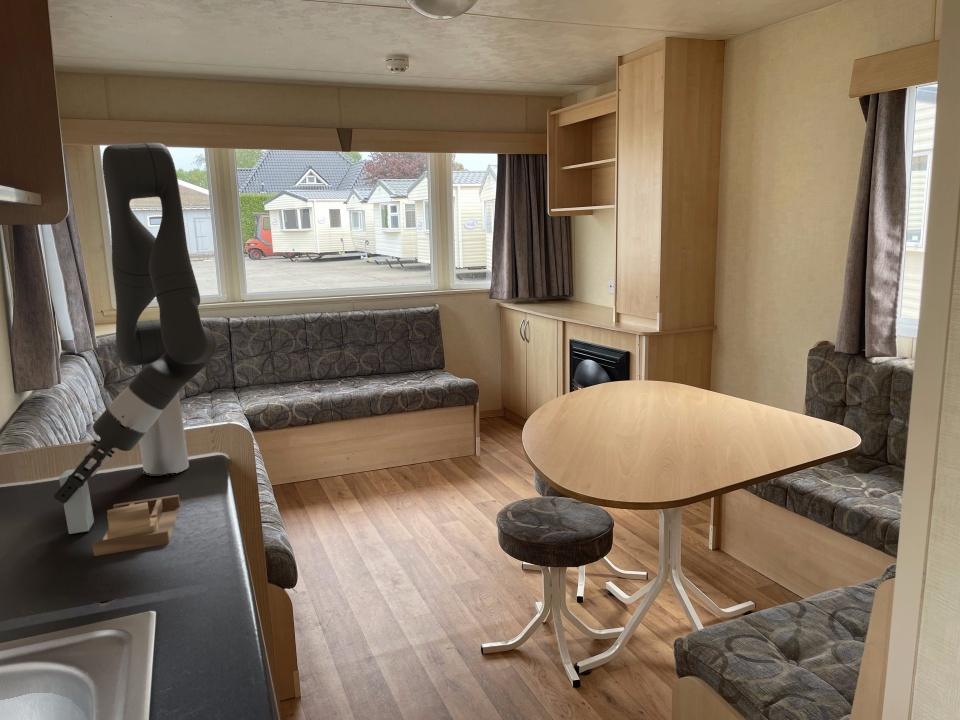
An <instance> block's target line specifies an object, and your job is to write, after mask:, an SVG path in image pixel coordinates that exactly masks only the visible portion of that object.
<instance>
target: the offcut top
mask: <svg viewBox="0 0 960 720" xmlns="http://www.w3.org/2000/svg"><path fill="white" fill-rule="evenodd" d="M106 513H107V515H106V517H107V523H108V528H109V531H110V533H113V532H117V531H122V530H127V529H131V528H136V527H140V526H145V525H150V524H151V522H150V515H149V509H148V502H145V503H140V504H135V505H130V506H126V507H121V508H116V509H113V508H112V509H108V510H106Z"/></svg>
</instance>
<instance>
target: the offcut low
mask: <svg viewBox="0 0 960 720" xmlns="http://www.w3.org/2000/svg"><path fill="white" fill-rule="evenodd" d="M150 522H151V524H150V525H145V526H140V527H136V528H131V529H127V530H122V531H117V532H113V533H110V531H109V530H108V529H107V530H108V531H106V532H107V537H108V539H112V538H118V537H125V536H131V535H137V534H143V533H149V532H155V531H159V528H158V522H157V517H156V518H150Z"/></svg>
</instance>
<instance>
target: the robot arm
mask: <svg viewBox="0 0 960 720" xmlns="http://www.w3.org/2000/svg"><path fill="white" fill-rule="evenodd" d="M101 162H102V172H103V180H104V187H105V193H106V201H107V208H108V213H109V222H110V236H111V237H110V239H111V240H110V241H111V266H112V267H111V268H112V276H113V277H112V278H113V285H114V286H113V287H114V292H115V293H114V294H115V304H116V305H115V306H116V307H115V308H116V309H115V311H116V313H115V344H116V351H117V356H118V358H119V360H120V361H121V363H122V364H124V365H125V366H127V367H128V366H129V367H135V366H136V367H137V366H144V368H142V369H141V371H140V372H139V373H138V374H137V375H136V376H135V377H134V378H133V380H132V381H131V382H130V384H129V385H127V386H126V387H125V388H124V389H123V390H122V391H121V392H120V393H119V394H118V395H117V396H116V397H115V399H114V400H113V401H112V402H111V403H110V404H109V405H108V407H106V409H105V410H104V411H103V412H102V413H101V415H100V416H98V418H97V419H96V420H95V421H94V423H93V425H92V430H93V432H94V434H95V435H96V436H98V437H99V439H100V440H98V439H96V438H94V440H93V441H92V442H91V443H90V445H89V446H88V447H87V448H86V449H85V453H84V454H83V455H82V456H81V457H80V458H79V460H78V461H76V463H75V468H74V469H75V471H74V472H73V473H72V474H71V475H69V476H68V479H67V481H66V482H65V483H64V484H63V486H62V487H60V488H59V489H58V490H57V491H56V492H55V494H54V496H53V498H54V499H55V500H57V501H58V502H60V503H61V504H63V503H66V502H67V501H68V500H69V499H70V497H71V496H72V495H73V494H74V493H75V492H76V490H77V489H78V488H80V487H81V486H83V485H84V483H85V482H86V480H87V481H88V479H89V478H90V477H94V476H95V475H96V474H97V473H98V472H99V470H100V469H102V467H103V466H104V465H105V464H107V463H108V462H109V461H110V459H112V457H113V455H114V454H115V453H116V452H115V450H113V449H118V450H120V451H123V452H129V451H131V450H133V449H134V447H135V446H136V445H137V444H138V443H139V450H140V457H141V462H142V463H141V464H142V469H143V470H144V471H145V472H146V473H150V474H167V473H176V474H178V473H182V472H183V471H185V470H187V469H189V467H190V464H189V456H188V448H187V441H186V435H185V434H186V433H185V427H184V419H183V414H182V413H183V412H182V406H181V400H180V394H179V393H180V392H179V391H180V390H181V389H182V388H183V387H184V386H185V385H186V384H187V383H189V382H190V381H191V380H192V379H193V378H194V377H195V376H196V375H197V374H198V373H200V372H201V370H203V369H204V368H205V367H206V366H207V365H208V364H209V362H210V361H211V360H212V358H213V357H214V355H215V354H216V351H217V348H218V347H217V346H218V341H217V337H216V336H215V333H214V332H213V331H212V330H210V329H209V328H207V327H206V326H203V324H202V321H201V316H200V312H199V306H200V303H201V296H200V291H199V287H198V284H197V283H198V282H197V280H196V276H195V272H194V269H193V266H192V262H191V257H190V254H189V249H188V241H187V235H186V226H185V219H184V211H183V205H182V200H181V192H180V185H179V180H178V175H177V170H176V167H175V162H174V159H173V156H172V155H171V152H170V151H169V149H168V148H167V146H166V145H165V144H163V143H160V142H145V143H143V142H140V143H139V142H138V143H117V144H111V145H108V146H106V147H105V148H104V151H103V153H102V161H101ZM146 198H147V199H148V198H159V200H160V204H161V205H160V206H161V220H160V225H159V229H158V231H157V234H156V237H155V236H154V235H153V233H152V232H151V231H150V230H149V229H147V227H146V226H144V224H143V223H142V222H141V221H140V220H139V219H138V217H137V216H136V214H135V213H134V212H133V211H132V208H131V206H130V202H131V201H132V200H138V199H146ZM155 298H156V299H155ZM154 300H156V301H157V305H158V308H159V319H153V320H152V319H151V320H142V321H138V320H139V319H140V316H141V315H142V313H143V312H144V311H145V309H146V308H147V307H148V306H149V305H150V304H151V303H152V301H154ZM143 470H142V471H143ZM144 471H143V472H144ZM76 473H79V474H80V475H82V476H83V477H84V479H83V480H82V479H81V478H79V477H77V476H76V475H75V474H76Z"/></svg>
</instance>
